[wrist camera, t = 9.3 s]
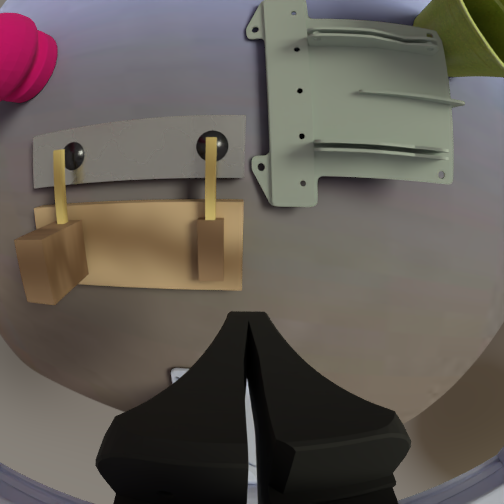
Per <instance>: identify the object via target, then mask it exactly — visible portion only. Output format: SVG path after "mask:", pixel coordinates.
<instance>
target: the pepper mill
mask: <svg viewBox="0 0 504 504" xmlns="http://www.w3.org/2000/svg"><path fill="white" fill-rule="evenodd" d="M56 60H57V45H56V42H55V40H54V39H53V38H52V37H51V36H49V35H47V34H45V33H43V32H41V31H39V30H37V28H36V25H35V23H34V22H33V21H32V20H31V19H30V18H28V17H26V16H23V15H21V14H17V13H1V14H0V101H2V100H4V101H9V102H16V103H22V102H25V101H28V100H30V99H31V98H33V97H34V96H36V95H37V94H38V93H39V92H40V91H41V90H42V89H43V87H44V86H45V85H46V83H47V82H48V80H49V78H50V77H51V75H52V73H53V70H54V67H55V65H56Z"/></svg>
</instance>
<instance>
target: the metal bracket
mask: <svg viewBox="0 0 504 504" xmlns="http://www.w3.org/2000/svg"><path fill="white" fill-rule="evenodd" d="M292 12H296V15H292V14H291V13H292ZM255 27H257V28H259V31H258V32H256V33H253V32H252V29H253V28H255ZM246 34H247V37H248V38H249V39H250V40H254V39H263V40H264V42H265V58H266V78H267V99H268V123H269V149H270V150H269V153H268V154H267V155H265V156H255V157H253V159H252V171H253V173H254V174H255V176H256V178H257V180H258V182H259V184H260V186H261V188H262V189H263V191H264V193H265V195H266V197H267V199H268V201H269V203H270V204H271V205H272V206H280V207H313V206H315V205H316V204H317V198H318V192H317V181H318V178H319V177H321V176H339V177H363V178H381V179H396V180H408V181H420V182H430V183H440V184H451V183H452V181H453V125H452V109H451V108H453V107H458V106H463V105H465V102H464V101H459V100H454V99H451V98H450V89H449V80H448V73H447V66H446V60H445V55H444V49H443V44H442V40H441V38H440V37H439V35H438V33H437V31H435V30H430V29H425V28H420V27H414V26H408V25H401V24H394V23H386V22H377V21H366V20H350V19H311V18H309V17H308V14H307V5H306V0H264V1H262V2H261V3H260V5H259V7H258V9H257V10H256V12H255V14H254V16H253V17H252V19H251V21H250V23H249V25H248V27H247V28H246ZM426 34H430V35H431V36H432V37H433V38H431V37H427V35H426ZM295 48H299V49H300V51H299V52H295V51H294V49H295ZM298 89H302V90H303V92H302V93H301V94H299V93H297V90H298ZM300 134H304V135H305V138H304V139H300V138H299V135H300ZM260 163H263V164H264V165H265V169H264V170H263V171H259V170H258V165H259V164H260ZM440 171H442V172H443V173H444V177H443V178H442V179H440V178H439V177H438V173H439V172H440ZM301 181H305V182H306V185H305V186H301V184H300V182H301Z"/></svg>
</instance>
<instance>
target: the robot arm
mask: <svg viewBox="0 0 504 504" xmlns="http://www.w3.org/2000/svg"><path fill="white" fill-rule="evenodd" d="M176 377H179V378H176ZM171 378H172V385H171V386H169V387H168V388H167V389H165V390H164V391H162V392H161V393H159V394H158V395H156V396H155V397H153V398H152V399H150V400H148V401H147V402H145V403H143V404H141V405H139V406H137V407H135V408H133V409H131V410H129V411H127V412H124V413H122V414H120V415H118V416H116V417H115V418H114V420H113V422H112V423H111V425H110V427H109V429H108V430H107V432H106V434H105V436H104V439H103V441H102V444H101V447H100V449H99V452H98V455H97V458H96V467H97V469H98V471H99V472H100V474H101V475H102V477H103V478H104V479H105V480H106V482H107V483H108V484H109V485H110V487H111V488H112V489H113V490H114V491H115V493H116V496H115V500H114V504H504V446H503V448H502V449H501V450H500V451H499V452H498V455H496V456H494V457H493V458H491V459H489V460H487V461H486V462H484V463H482V464H480V465H479V466H477V467H475V468H473V469H471V470H469V471H468V472H466V473H464V474H462V475H460V476H458V477H455V478H453V479H451V480H449V481H447V482H445V483H443V484H440V485H438V486H436V487H433V488H431V489H429V490H426V491H423V492H421V493H418V494H416V495H413V496H410V497H407V498H405V499H402V500H399V501H397V498H396V496H395V493H394V491H393V487H394V486H395V485H396V481H395V478H394V475H393V472H394V471H395V469H396V468H397V467H398V466H399V464H400V463H401V462H402V460H403V459H404V458H405V456H406V455H407V453H408V451H409V449H410V447H411V440H410V438H409V436H408V434H407V432H406V429H405V427H404V425H403V424H402V422H401V420H400V419H399V417H398V416H397V414H396V413H395V411H392V410H390V409H387V408H384V407H382V406H379V405H376V404H374V403H371V402H368V401H366V400H364V399H362V398H360V397H358V396H356V395H354V394H352V393H350V392H348V391H346V390H344V389H343V388H341V387H339V386H337V385H336V384H334V383H333V382H331V381H330V380H328V379H327V378H325V377H324V376H322V375H321V374H320V373H318V372H317V371H316V370H315V369H313V368H312V367H311V366H310V365H309V364H307V363H306V362H305V361H304V360H303V359H302V358H301V357H300V356H299V355H298V354H297V353H296V352H295V351H294V350H293V348H292V347H291V346H290V345H289V344H288V343H287V342H286V340H285V339H284V338H283V337H282V335H281V334H280V333H279V332H278V330H277V329H276V327H275V326H274V324H273V323H272V321H271V320H270V318H269V317H268V315H267V314H266V313H265V312H233V311H231V312H230V313H228V315H227V318H226V320H225V322H224V324H223V326H222V328H221V330H220V331H219V333H218V334H217V336H216V337H215V339H214V341H213V342H212V343H211V345H210V346H209V347H208V349H207V350H206V351H205V352H204V354H203V355H202V356H201V357H200V358H199V360H198V361H197V362H196V363H195V364H194V365H193V366H192V367H191V368H190V369H186V368H173V369H172V370H171ZM0 504H94V503H90V502H87V501H84V500H81V499H79V498H75V497H73V496H70V495H68V494H65V493H62V492H60V491H57V490H55V489H53V488H50V487H48V486H46V485H43V484H41V483H39V482H36V481H34V480H32V479H30V478H28V477H26V476H24V475H22V474H20V473H18V472H16V471H14V470H13V469H11V468H9V467H7V466H5V465H4V464H2V463H0Z"/></svg>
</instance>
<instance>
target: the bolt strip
mask: <svg viewBox="0 0 504 504" xmlns="http://www.w3.org/2000/svg"><path fill="white" fill-rule="evenodd" d="M245 122H246V115H198V116H175V117H159V118H147V119H136V120H127V121H118V122H111V123H103V124H97V125H90V126H84V127H78V128H73V129H67V130H62V131H57V132H53V133H48V134H43V135H39V136H35V137H33V179H34V188H42V187H50V186H54V170H53V151H54V150H60V149H65V185H70V184H80V183H92V182H105V181H121V180H139V179H165V178H205V159H206V137H216V138H217V157H216V178H244V158H245Z"/></svg>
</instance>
